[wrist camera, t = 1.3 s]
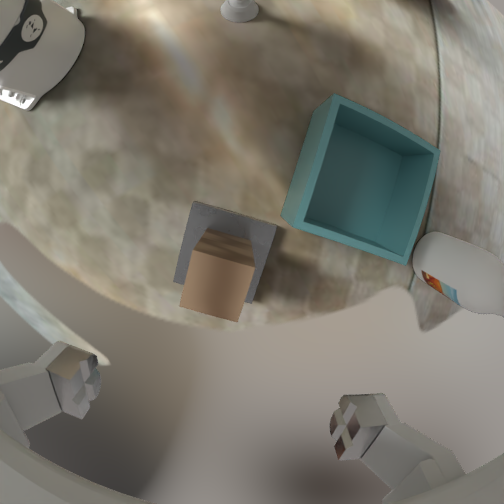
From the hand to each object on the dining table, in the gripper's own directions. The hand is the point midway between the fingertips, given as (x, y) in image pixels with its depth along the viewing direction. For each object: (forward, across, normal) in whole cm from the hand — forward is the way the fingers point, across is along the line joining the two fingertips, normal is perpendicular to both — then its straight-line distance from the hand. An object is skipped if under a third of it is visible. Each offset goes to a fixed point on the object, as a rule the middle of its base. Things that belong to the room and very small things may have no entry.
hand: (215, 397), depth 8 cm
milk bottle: (+28, -28, -2) cm, 39 cm away
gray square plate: (+26, +2, +2) cm, 27 cm away
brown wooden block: (+25, +2, +2) cm, 25 cm away
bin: (+27, -12, -9) cm, 31 cm away
